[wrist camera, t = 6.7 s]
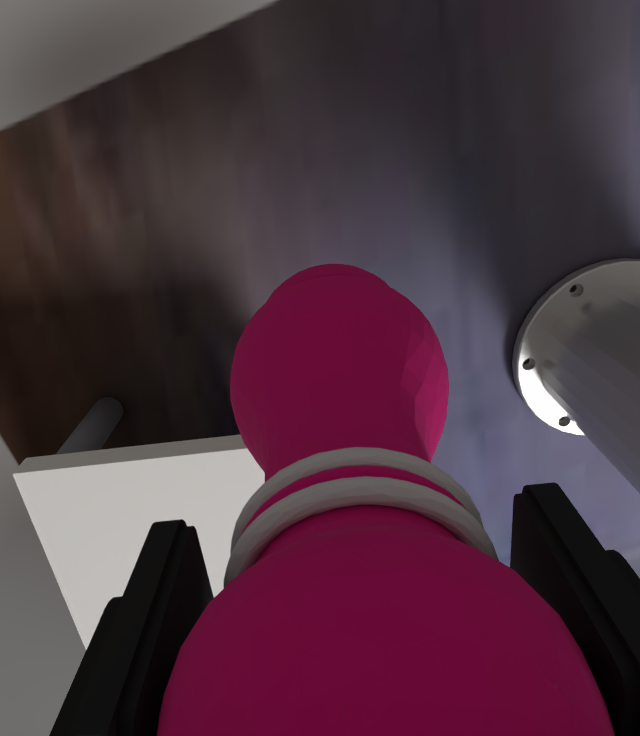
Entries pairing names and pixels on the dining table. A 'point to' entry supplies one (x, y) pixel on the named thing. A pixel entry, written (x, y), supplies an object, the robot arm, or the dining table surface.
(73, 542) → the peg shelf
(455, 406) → the dining table surface
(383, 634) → the pepper mill
